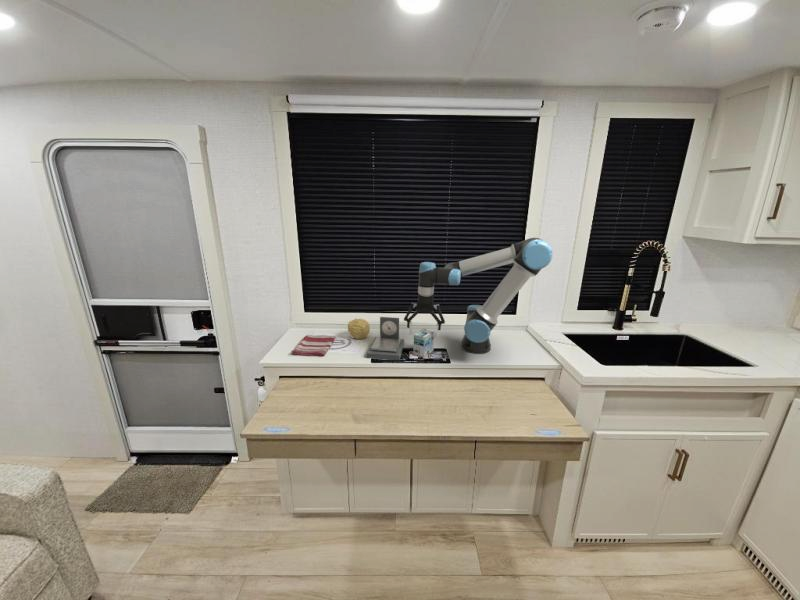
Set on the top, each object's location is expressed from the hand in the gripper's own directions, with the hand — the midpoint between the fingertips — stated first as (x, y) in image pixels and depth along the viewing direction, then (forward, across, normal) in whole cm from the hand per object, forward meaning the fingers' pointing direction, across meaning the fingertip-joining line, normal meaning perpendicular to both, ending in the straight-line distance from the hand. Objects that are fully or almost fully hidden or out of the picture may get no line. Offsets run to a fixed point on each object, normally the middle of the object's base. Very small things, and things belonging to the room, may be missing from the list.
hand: (423, 335), depth 164 cm
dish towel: (+11, +56, +2) cm, 58 cm away
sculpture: (+10, +36, -14) cm, 40 cm away
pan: (+7, +18, +2) cm, 20 cm away
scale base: (+10, +18, +1) cm, 21 cm away
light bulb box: (+10, -1, 0) cm, 10 cm away
